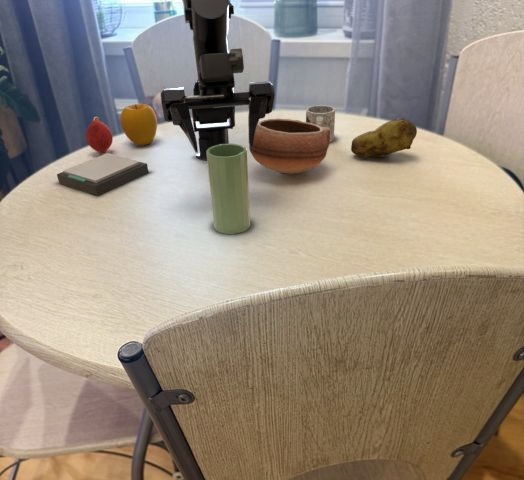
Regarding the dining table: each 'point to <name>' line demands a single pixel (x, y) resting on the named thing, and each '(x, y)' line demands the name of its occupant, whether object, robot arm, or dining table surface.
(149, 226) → the dining table surface
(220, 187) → the tumbler
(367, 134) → the potato
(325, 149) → the bowl
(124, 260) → the dining table surface
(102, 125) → the onion
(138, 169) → the scale
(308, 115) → the mug
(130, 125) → the apple
